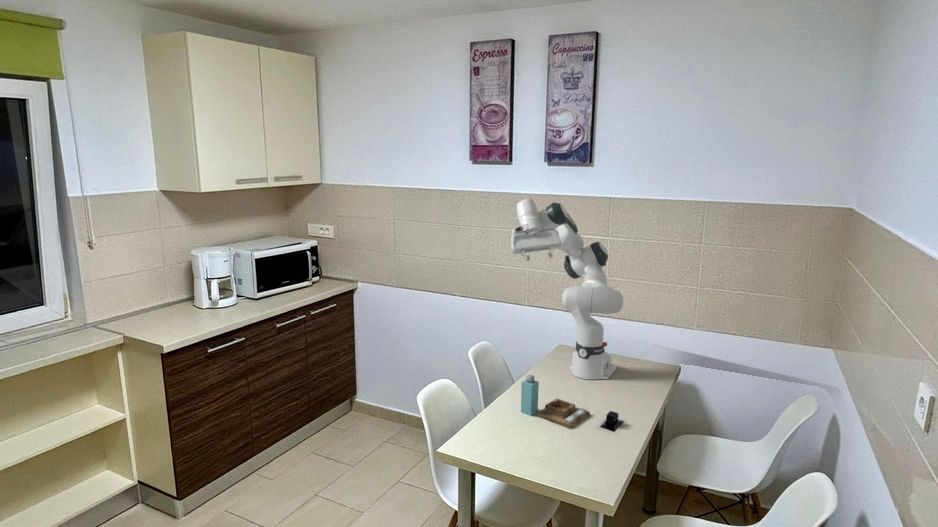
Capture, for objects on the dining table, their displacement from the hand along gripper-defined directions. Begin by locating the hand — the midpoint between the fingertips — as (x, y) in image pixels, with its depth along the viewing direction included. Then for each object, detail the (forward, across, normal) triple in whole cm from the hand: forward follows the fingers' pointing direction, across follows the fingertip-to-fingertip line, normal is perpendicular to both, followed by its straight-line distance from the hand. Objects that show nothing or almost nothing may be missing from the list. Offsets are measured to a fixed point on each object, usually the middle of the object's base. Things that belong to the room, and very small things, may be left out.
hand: (539, 258), depth 216 cm
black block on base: (+66, -13, -14) cm, 68 cm away
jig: (+58, +2, -17) cm, 61 cm away
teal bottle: (+54, +14, -19) cm, 59 cm away
